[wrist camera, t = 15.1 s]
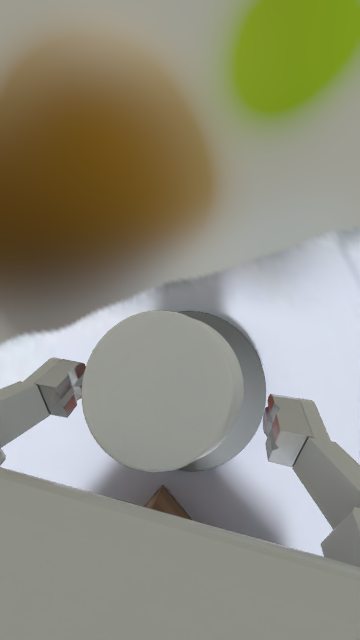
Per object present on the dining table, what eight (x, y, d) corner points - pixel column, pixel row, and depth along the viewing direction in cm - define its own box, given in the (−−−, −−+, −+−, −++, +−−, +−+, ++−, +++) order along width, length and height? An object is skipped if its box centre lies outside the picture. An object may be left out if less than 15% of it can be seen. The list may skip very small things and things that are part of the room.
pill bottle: (167, 440, 16) (85, 553, 5) (138, 363, 18) (37, 336, 7) (242, 404, 16) (309, 448, 5) (206, 332, 18) (202, 259, 7)
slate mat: (183, 288, 20) (182, 285, 19) (296, 379, 17) (299, 379, 16) (89, 386, 18) (85, 386, 18) (192, 509, 15) (192, 513, 14)
